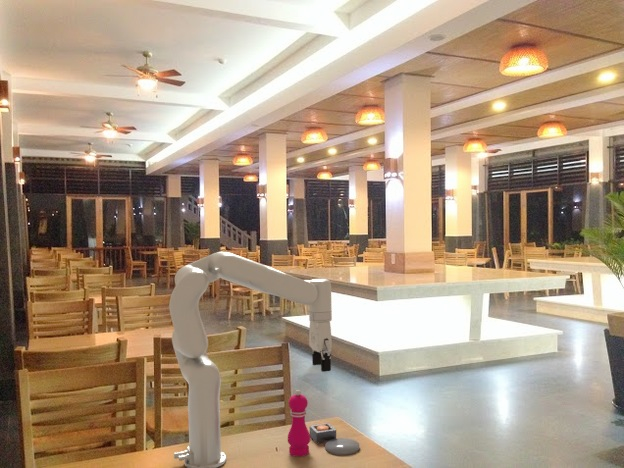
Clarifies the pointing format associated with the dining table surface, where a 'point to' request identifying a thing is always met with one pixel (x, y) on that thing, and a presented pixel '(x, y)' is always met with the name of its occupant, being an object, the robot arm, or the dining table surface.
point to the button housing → (322, 433)
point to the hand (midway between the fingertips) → (321, 367)
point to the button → (322, 428)
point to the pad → (342, 446)
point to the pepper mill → (298, 426)
